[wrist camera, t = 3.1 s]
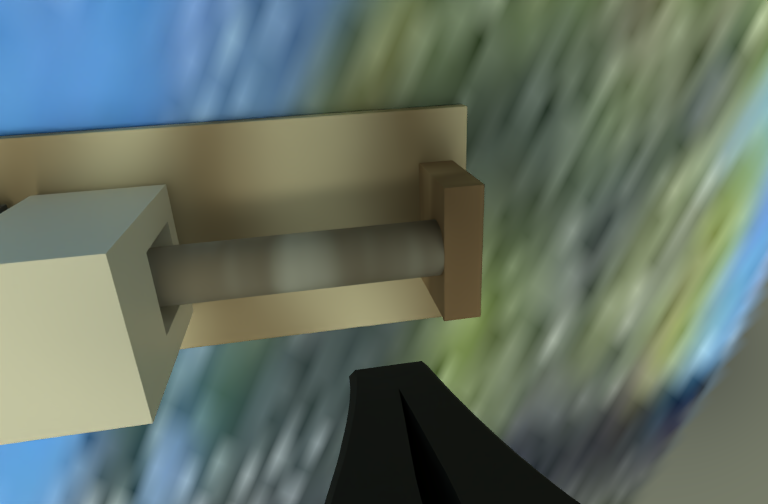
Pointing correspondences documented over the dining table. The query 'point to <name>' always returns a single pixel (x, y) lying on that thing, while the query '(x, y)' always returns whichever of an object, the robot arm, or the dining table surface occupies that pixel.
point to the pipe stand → (289, 215)
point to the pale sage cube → (84, 312)
